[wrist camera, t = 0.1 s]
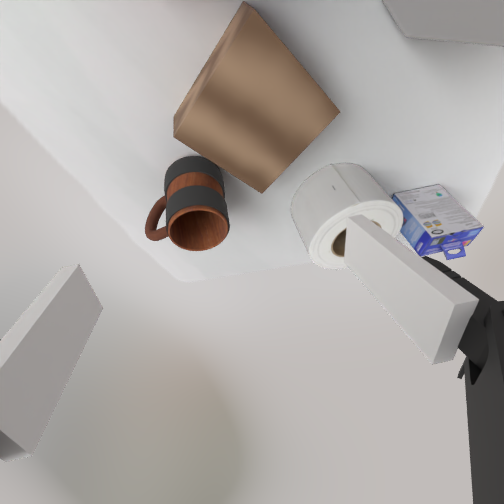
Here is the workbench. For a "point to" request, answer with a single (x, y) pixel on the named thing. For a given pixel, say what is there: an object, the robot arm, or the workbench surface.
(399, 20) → the electrical switch box
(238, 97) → the walnut block
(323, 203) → the toilet paper roll
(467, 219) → the ink cartridge box
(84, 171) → the workbench surface
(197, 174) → the mug
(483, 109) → the workbench surface
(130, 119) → the workbench surface
